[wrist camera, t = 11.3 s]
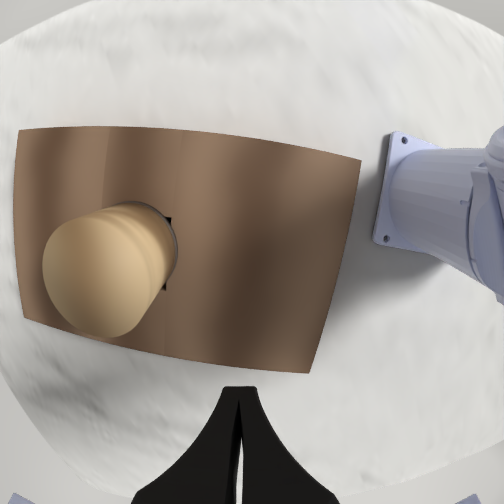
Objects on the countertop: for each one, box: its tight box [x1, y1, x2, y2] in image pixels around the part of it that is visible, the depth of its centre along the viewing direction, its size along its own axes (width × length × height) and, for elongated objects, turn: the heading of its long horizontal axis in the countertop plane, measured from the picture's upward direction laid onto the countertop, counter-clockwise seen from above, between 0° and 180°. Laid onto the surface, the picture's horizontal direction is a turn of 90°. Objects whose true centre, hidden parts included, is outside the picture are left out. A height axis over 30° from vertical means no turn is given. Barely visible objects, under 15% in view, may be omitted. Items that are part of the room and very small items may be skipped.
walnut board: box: [13, 126, 362, 373], centre depth 18 cm, size 22×14×3 cm, turn 81°
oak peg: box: [42, 201, 178, 338], centre depth 15 cm, size 6×6×8 cm
